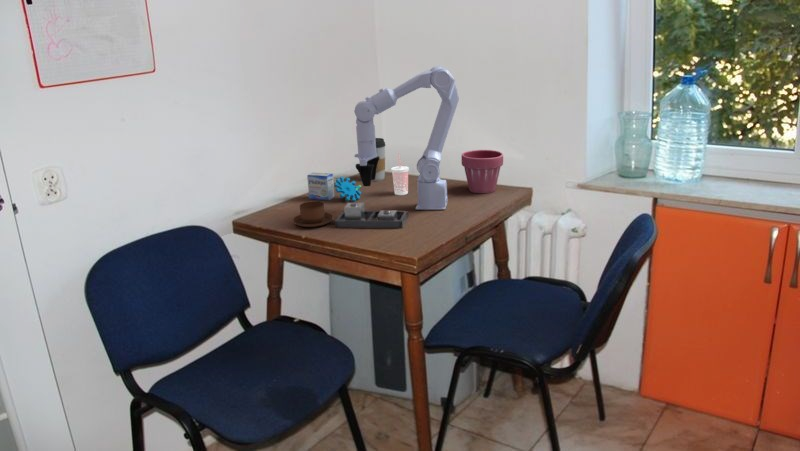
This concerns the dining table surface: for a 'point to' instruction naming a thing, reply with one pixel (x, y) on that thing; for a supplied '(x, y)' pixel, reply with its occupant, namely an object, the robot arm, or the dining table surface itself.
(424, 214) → the dining table surface
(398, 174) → the beverage cup
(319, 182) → the medicine box
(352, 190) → the gear
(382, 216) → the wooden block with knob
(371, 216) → the grey flat rectangular frame
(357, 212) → the grey square block
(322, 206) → the cup and saucer
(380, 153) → the coffee cup
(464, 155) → the plant pot
